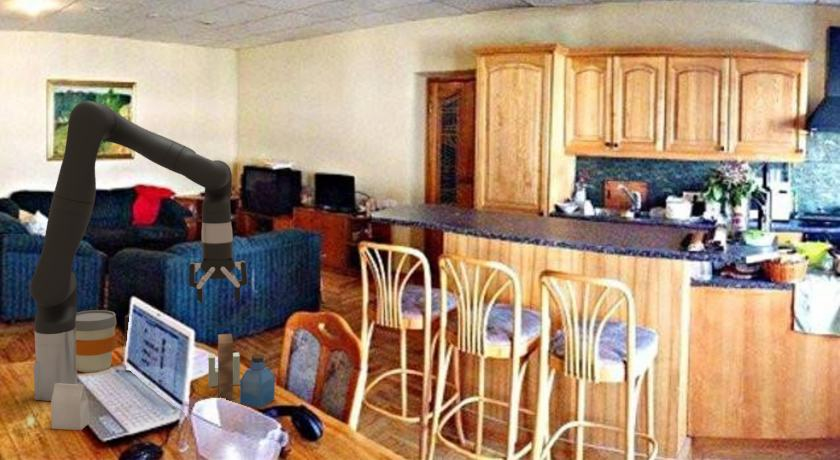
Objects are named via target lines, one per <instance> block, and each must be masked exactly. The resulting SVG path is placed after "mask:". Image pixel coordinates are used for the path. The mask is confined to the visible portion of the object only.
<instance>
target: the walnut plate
mask: <svg viewBox="0 0 840 460" xmlns="http://www.w3.org/2000/svg"><path fill="white" fill-rule="evenodd" d="M233 353H234V341H233V334H232V333H224V334H217V368H218V386H217V391H218V398H219V397H221V398H226V399H229V400H234V385H233Z"/></svg>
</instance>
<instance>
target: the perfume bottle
mask: <svg viewBox="0 0 840 460" xmlns="http://www.w3.org/2000/svg"><path fill="white" fill-rule="evenodd" d="M265 363H266V361H265V355H264V354H260V353H259V354H257V353H256V354H253V355H251V360H250V366H251V367H250V368H248V369H245V372H244V374H243V375H242V377H241V378H240V385H239V386H240V388H239V389H240V391H239V394H240V395H239V398H240V399H239V400H240V402H239V403H241V405H247V406H251V407H258V408H263V407H265V406H266V405H268V404H269V403H270V401H271V402H272V401H274V400H275V384H276V383H275V380H276V379H275V378H276V377H275V374H274V373H273V372H272V370H271V369H270V368H269V367H267V366H265ZM273 399H274V400H273Z"/></svg>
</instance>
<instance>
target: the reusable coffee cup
mask: <svg viewBox="0 0 840 460" xmlns="http://www.w3.org/2000/svg"><path fill="white" fill-rule="evenodd" d="M116 316H117V315H116V313H115V312H114V311H111V310H104V309H100V310H98V309H94V310H93V309H92V310H82V311H77V315H76V322H75V326H76V327H75V328H76V360H77V372H81V373H82V372H83V373H95V372H101V371H105V370H107V369H109V368H111V364H112V358H113V356H112V355H113V350H114V349H115V345H116V336H117V335H116V331H115V330H116V325H117V324H118V323H117V317H116Z"/></svg>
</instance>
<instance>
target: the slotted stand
mask: <svg viewBox="0 0 840 460" xmlns="http://www.w3.org/2000/svg"><path fill="white" fill-rule="evenodd" d="M240 356H241V355H240V352H233V386H240V380H241V378H240V377H241V376H240V370H241V369H240V366H241V364H240V362H241V361H240V360H241V359H240ZM207 359H208V387H210V388H211V387H218V367H216V355H215V353H208V358H207Z"/></svg>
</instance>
